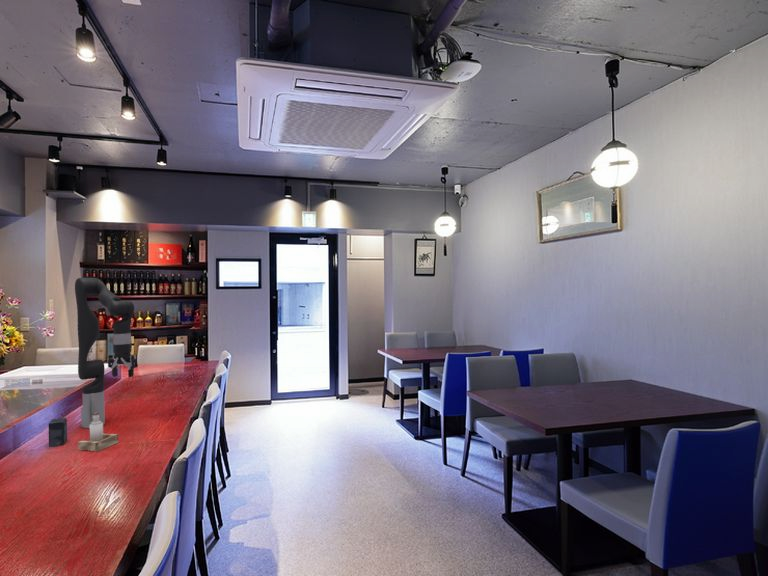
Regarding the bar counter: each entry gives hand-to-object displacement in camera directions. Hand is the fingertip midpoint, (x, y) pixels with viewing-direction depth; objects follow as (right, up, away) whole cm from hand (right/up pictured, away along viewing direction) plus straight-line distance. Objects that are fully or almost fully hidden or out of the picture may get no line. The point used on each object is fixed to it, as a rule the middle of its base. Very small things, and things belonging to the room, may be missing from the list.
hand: (123, 376), depth 212 cm
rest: (-1, -27, -16) cm, 32 cm away
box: (-23, -28, -11) cm, 38 cm away
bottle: (-2, -27, -16) cm, 31 cm away
